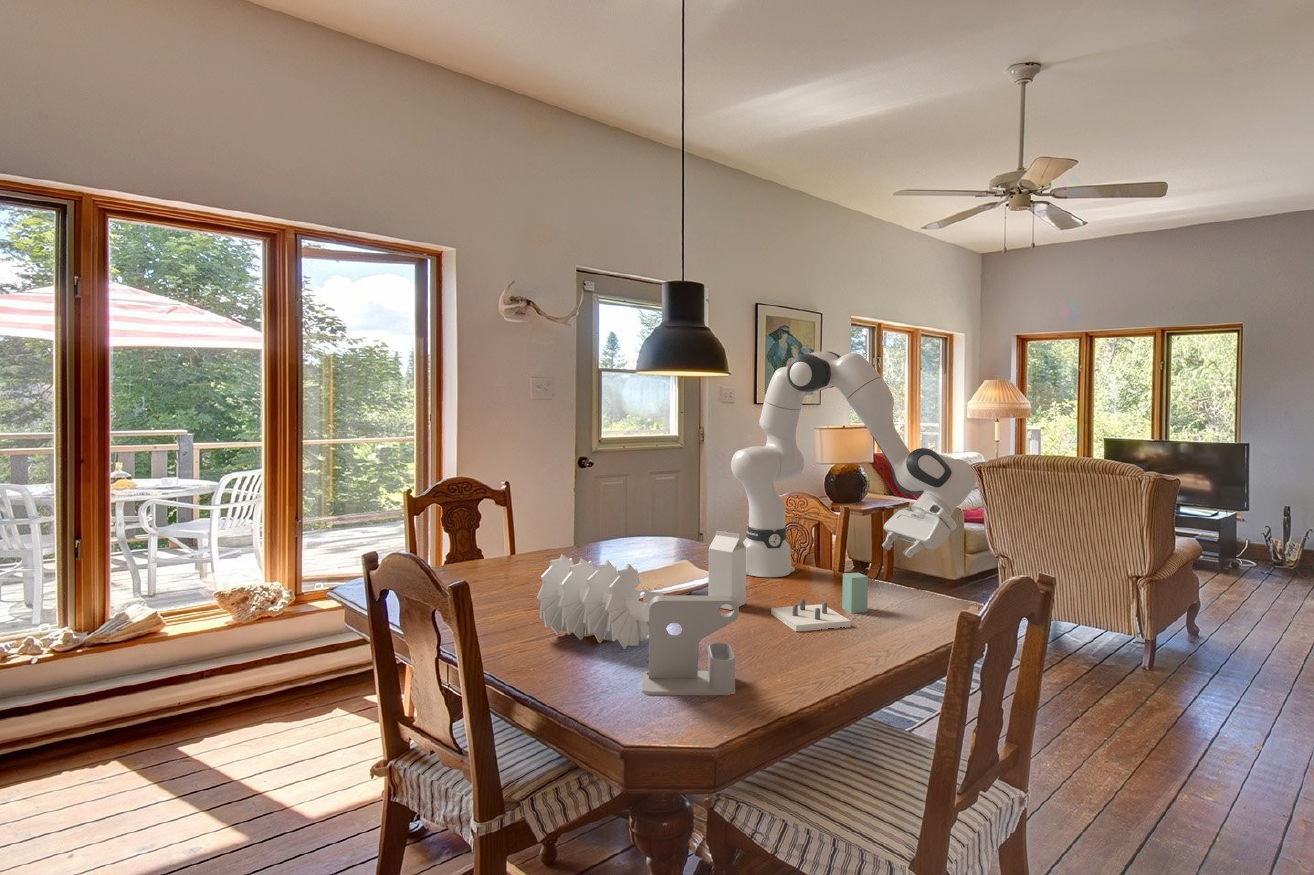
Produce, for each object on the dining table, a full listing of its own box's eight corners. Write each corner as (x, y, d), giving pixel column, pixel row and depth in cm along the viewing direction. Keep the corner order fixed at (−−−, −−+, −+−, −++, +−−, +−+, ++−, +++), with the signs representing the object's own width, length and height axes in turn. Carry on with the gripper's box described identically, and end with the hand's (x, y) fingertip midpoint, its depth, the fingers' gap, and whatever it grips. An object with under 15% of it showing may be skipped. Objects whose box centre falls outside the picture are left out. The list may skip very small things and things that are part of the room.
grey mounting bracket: (731, 674, 142) (732, 583, 141) (738, 695, 132) (739, 597, 131) (642, 674, 142) (643, 583, 141) (642, 695, 132) (643, 597, 130)
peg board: (771, 614, 181) (771, 598, 181) (822, 610, 185) (822, 594, 184) (795, 631, 168) (796, 614, 167) (850, 627, 171) (850, 610, 171)
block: (842, 608, 186) (842, 573, 186) (857, 607, 187) (858, 572, 187) (851, 613, 182) (851, 577, 181) (867, 612, 183) (868, 576, 183)
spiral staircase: (633, 673, 152) (540, 646, 165) (672, 618, 166) (582, 597, 178) (617, 606, 144) (519, 583, 157) (658, 553, 157) (565, 536, 170)
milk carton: (731, 610, 184) (732, 536, 183) (707, 605, 188) (708, 533, 187) (745, 604, 189) (746, 532, 188) (722, 599, 194) (723, 529, 192)
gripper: (898, 498, 198) (866, 536, 196) (947, 510, 178) (911, 552, 176) (912, 514, 200) (880, 551, 198) (962, 527, 180) (926, 569, 178)
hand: (895, 552), depth 187 cm, fingers open, 8 cm apart
